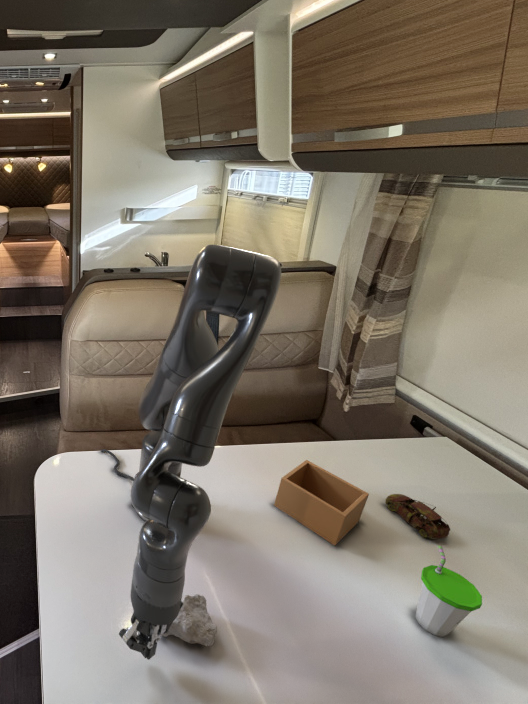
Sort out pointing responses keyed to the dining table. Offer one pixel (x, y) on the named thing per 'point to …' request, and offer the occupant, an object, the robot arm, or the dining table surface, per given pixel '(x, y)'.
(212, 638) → the stone
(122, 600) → the dining table surface
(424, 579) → the cup
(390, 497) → the toy car
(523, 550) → the dining table surface
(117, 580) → the dining table surface
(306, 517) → the box
